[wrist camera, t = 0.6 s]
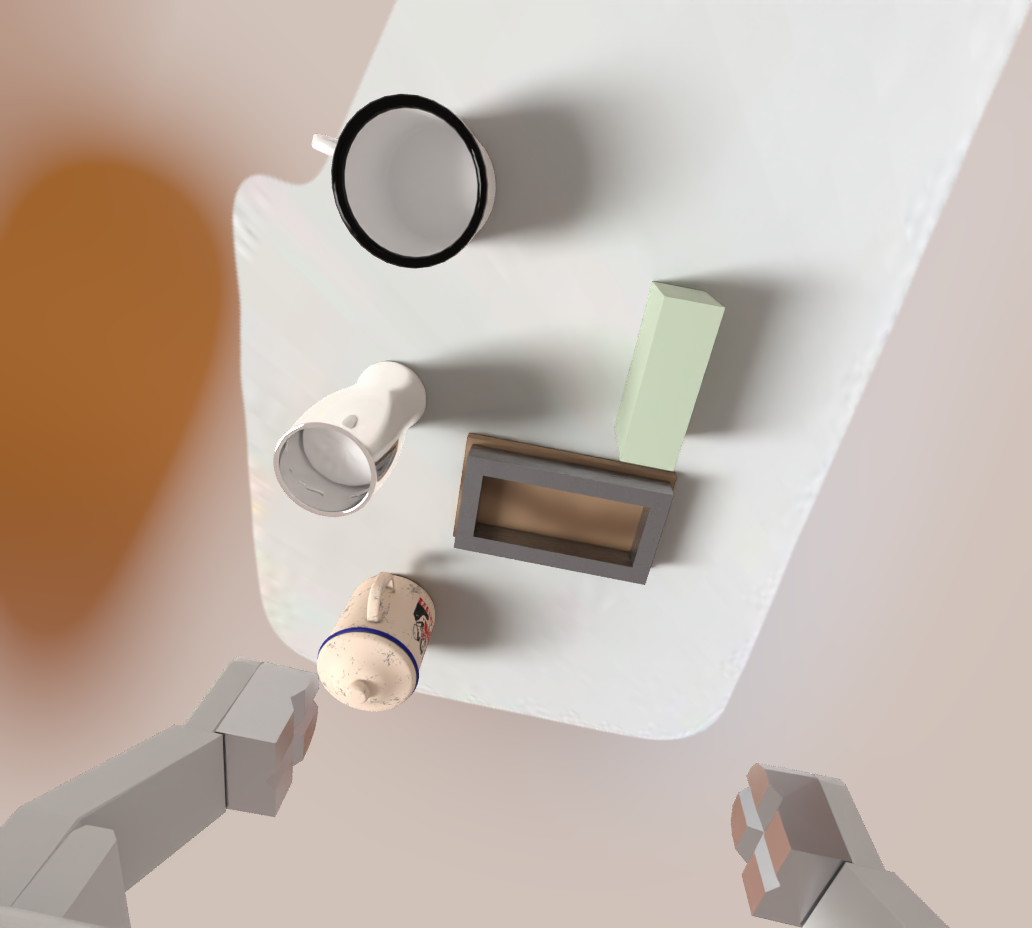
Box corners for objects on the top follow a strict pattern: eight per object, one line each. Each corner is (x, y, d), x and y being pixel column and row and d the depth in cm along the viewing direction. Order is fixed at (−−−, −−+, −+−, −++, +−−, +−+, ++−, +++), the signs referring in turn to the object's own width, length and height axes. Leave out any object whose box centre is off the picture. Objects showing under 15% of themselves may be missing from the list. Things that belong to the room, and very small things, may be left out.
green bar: (652, 281, 45) (664, 296, 39) (704, 290, 45) (725, 307, 39) (614, 426, 50) (619, 461, 44) (661, 435, 50) (673, 471, 44)
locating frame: (469, 432, 52) (462, 449, 48) (675, 472, 51) (681, 491, 48) (454, 530, 56) (447, 551, 53) (644, 567, 56) (649, 590, 52)
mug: (523, 144, 42) (510, 134, 34) (477, 274, 46) (456, 293, 38) (361, 72, 41) (308, 44, 33) (329, 211, 45) (274, 216, 37)
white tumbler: (448, 401, 51) (401, 480, 37) (392, 448, 53) (328, 538, 39) (390, 338, 49) (319, 396, 35) (334, 389, 51) (247, 463, 38)
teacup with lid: (435, 650, 62) (407, 744, 52) (349, 636, 62) (304, 727, 52) (443, 553, 57) (413, 636, 47) (350, 539, 57) (299, 618, 47)
